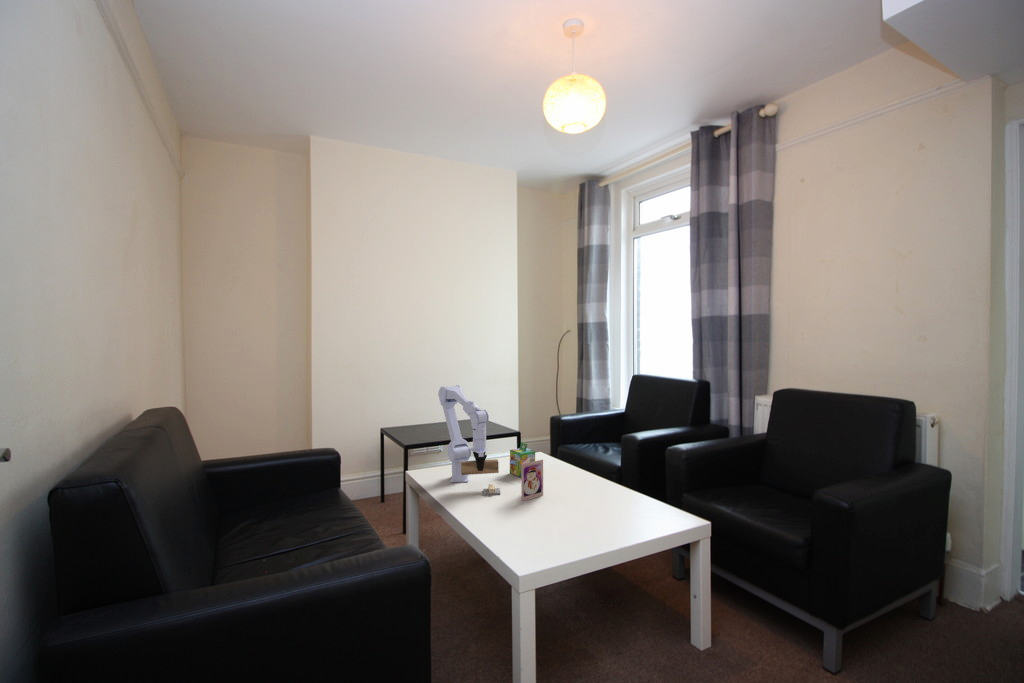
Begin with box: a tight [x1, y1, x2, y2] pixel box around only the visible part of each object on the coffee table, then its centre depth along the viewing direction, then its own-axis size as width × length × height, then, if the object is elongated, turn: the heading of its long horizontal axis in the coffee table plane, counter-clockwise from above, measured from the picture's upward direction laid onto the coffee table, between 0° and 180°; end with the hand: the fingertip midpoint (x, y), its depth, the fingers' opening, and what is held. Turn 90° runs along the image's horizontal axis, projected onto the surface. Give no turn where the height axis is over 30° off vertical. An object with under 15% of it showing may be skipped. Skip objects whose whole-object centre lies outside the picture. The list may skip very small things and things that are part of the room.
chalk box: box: [509, 442, 536, 478], centre depth 225 cm, size 9×9×15 cm
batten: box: [461, 458, 500, 476], centre depth 204 cm, size 4×16×5 cm, turn 99°
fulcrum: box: [482, 483, 501, 496], centre depth 199 cm, size 6×7×2 cm
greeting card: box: [520, 457, 544, 502], centre depth 194 cm, size 11×7×15 cm, turn 126°
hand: (479, 469), depth 204 cm, fingers closed on batten, 3 cm apart
